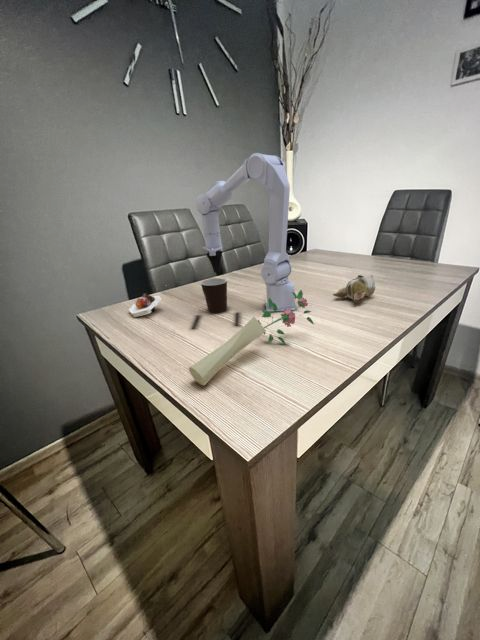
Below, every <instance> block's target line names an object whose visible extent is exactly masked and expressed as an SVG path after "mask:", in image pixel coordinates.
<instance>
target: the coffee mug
mask: <svg viewBox="0 0 480 640" xmlns="http://www.w3.org/2000/svg"><path fill="white" fill-rule="evenodd" d="M200 286H201V289H202V292H203V296H204V299H205V303H206V307H207V310H208V313H210V314H221V313H224V312H226V311H227V310H228V280H227V279H226V278H220V277H218V278H217V277H216V278H215V277H213V278H209V279H205V280H202V281H201V282H200Z"/></svg>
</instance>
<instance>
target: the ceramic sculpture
mask: <svg viewBox="0 0 480 640" xmlns="http://www.w3.org/2000/svg"><path fill="white" fill-rule="evenodd" d="M375 290H376V281H375V279H374V275H373V274H370V275H367V276H364V275H361V274H359V275H357V276H356V278H353V279H350V280H349V281H348V282H347V284H346V286H345V287H342V288H340V289H339V290H338V291H337V292H336V293H332V296H334V297H338V298H345V297H347V298H348V299H350V300H352V301H353V302H355V303H360V302H361V303H362V301H363V300H364V299H365V298H366V297H371V296H373V295H374V293H375Z"/></svg>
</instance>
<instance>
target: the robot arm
mask: <svg viewBox="0 0 480 640" xmlns="http://www.w3.org/2000/svg"><path fill="white" fill-rule="evenodd" d="M251 180H252V181H254V182H256V183H257V184H258V185H261V186H262V187H263V188H264V189H265V190H266V191H267V193H268V194H269V196H270V197H269V221H268V222H269V223H268V251H267V254H266V255H265V257H264V259H263V266H262V267H261V270H260V276H261V279H262V280H263V281H264V283H265V292H266V302H265V310H267V311H269V312H270V313H271V312H272V313H273V312H275V311H274V310H273V307H272V308H270V307H269V302H268V301H269V298H270V299H271V300H272V302H274V303H275V304H276V306H277V311H276V312H283V311H285V309H287V310H288V309H291V310H292V311H293V310H294V309H296V308H295V306H296V305H295V304H296V300H295V297H294V295H293V293H292V292H294V293H295V294H296V291H295V290H296V288H295V282H294V281H293V280H289V276H290V275H291V273H292V265H291V262H290V261H291V256H290V255H289V254H288V253H287V241H288V239H287V238H288V223H289V222H288V221H289V207H290V194H291V193H290V192H291V186H290V182H289V179H288V176H287V172H286V163H285V162H284V161H283V160H282V158H280V157H279V156H278V155H275V154H272V155H270V154H263V153H259V152H254V153H251V154H250V156H249V157H248V158H245V159H244V161H243V163H242V165H241V166H240V167H239V168H237V170H235V172H234V173H233V174H232V175H231V176H230V177H229V178H228V179H227V180H226V181H225V180H217V181H215V182H214V184H215V185H214V186H213V187H212V188H211V189H208V190H206V193H205V194H199V195H198V196H197V197H196V199H195V206H196V210H197V212H198V213H199V214H200V216H201V224H202V229H203V237H204V244H205V246H202V250H205V251H208V252H206V257H207V258H208V260H209V262H210V265H211V268H212V270H213V273H215V274H216V273H220V272H221V260H222V257H223V256H222V255H223V253H224V252H223V250H222V249H223V245H222V238H221V229H220V221H219V220H220V219H219V218H220V211H221V208H222V206H224V205H225V204H226V203H228V202H229V201H230V200H232V198H233V196H234V192H235V191H237V190H238V189H239V188H241V187H242V186H244V185H245V184H246V183H248V182H250V181H251ZM287 310H286V311H287ZM294 311H295V310H294Z"/></svg>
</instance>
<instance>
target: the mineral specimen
mask: <svg viewBox="0 0 480 640" xmlns="http://www.w3.org/2000/svg"><path fill="white" fill-rule="evenodd" d="M161 301H163V298H162V297H160V296H159V295H154V296H152V295H150V294H148V293H145V292H143V294H142V296H141V298H139V297H138V298H137V299H136V301H135V303H133V304H132V305H131V307H130V308H128V311H129V312H130V314H131V315H132V316H133V317H134V318H137V317H142V316H145V315H149V314H151V313H154V312H155V308H156V307H157V306H158V304H160V302H161Z"/></svg>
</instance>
